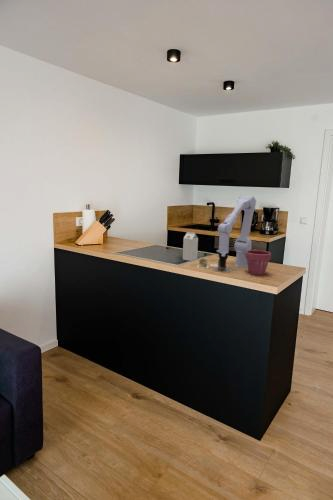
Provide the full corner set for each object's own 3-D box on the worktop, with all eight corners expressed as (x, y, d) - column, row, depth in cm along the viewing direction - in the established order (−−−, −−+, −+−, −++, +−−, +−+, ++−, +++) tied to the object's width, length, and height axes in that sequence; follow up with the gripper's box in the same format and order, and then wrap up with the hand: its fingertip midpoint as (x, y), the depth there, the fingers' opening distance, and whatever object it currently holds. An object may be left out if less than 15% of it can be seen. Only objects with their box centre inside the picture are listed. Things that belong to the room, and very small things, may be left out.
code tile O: (208, 266, 216) (208, 265, 216) (208, 268, 209) (208, 267, 209) (197, 265, 217) (197, 264, 217) (196, 267, 210) (196, 267, 210)
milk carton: (188, 258, 237) (189, 231, 233) (197, 259, 232) (198, 232, 229) (182, 259, 231) (183, 232, 228) (191, 261, 227) (192, 233, 223)
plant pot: (264, 270, 208) (266, 249, 206) (272, 276, 194) (274, 254, 192) (241, 270, 208) (243, 249, 205) (247, 276, 194) (249, 254, 191)
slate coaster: (229, 268, 210) (229, 268, 210) (230, 272, 201) (230, 271, 201) (215, 267, 211) (215, 267, 211) (214, 271, 203) (214, 270, 202)
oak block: (206, 265, 215) (207, 257, 214) (206, 267, 210) (206, 259, 209) (199, 265, 215) (200, 257, 214) (199, 266, 211) (199, 259, 210)
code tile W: (221, 265, 219) (221, 264, 219) (221, 267, 213) (221, 266, 212) (210, 264, 220) (210, 263, 220) (210, 266, 214) (210, 266, 214)
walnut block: (225, 267, 208) (226, 259, 207) (225, 269, 203) (226, 261, 202) (218, 267, 209) (218, 259, 208) (218, 268, 204) (218, 260, 203)
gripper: (217, 241, 211) (216, 262, 213) (216, 245, 197) (215, 268, 199) (229, 241, 210) (227, 263, 212) (229, 246, 196) (227, 269, 198)
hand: (222, 265), depth 206 cm, fingers closed on walnut block, 4 cm apart
